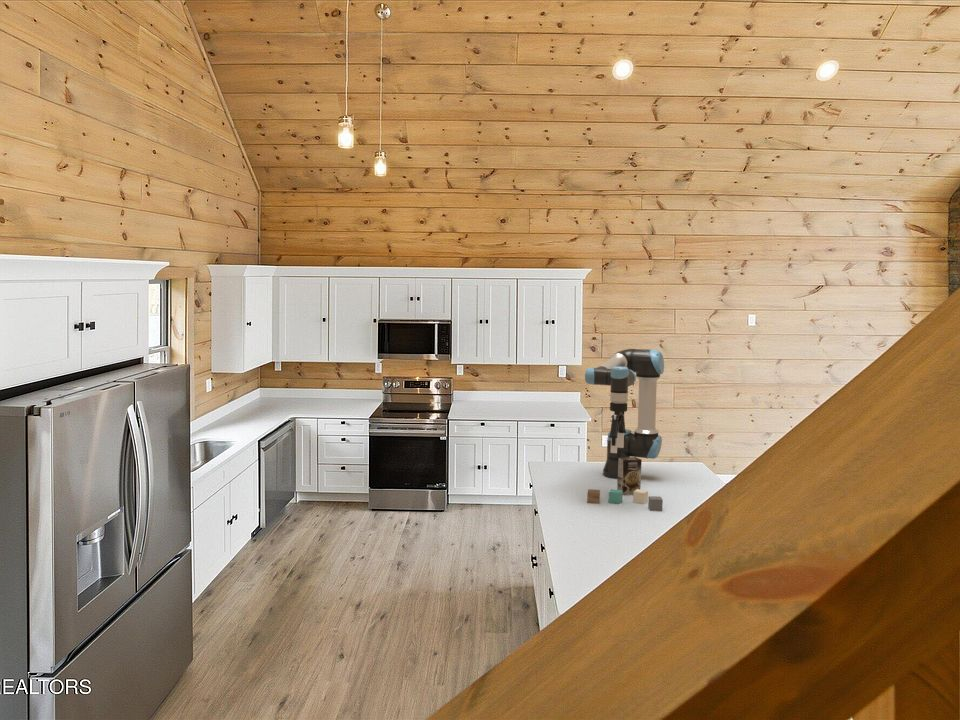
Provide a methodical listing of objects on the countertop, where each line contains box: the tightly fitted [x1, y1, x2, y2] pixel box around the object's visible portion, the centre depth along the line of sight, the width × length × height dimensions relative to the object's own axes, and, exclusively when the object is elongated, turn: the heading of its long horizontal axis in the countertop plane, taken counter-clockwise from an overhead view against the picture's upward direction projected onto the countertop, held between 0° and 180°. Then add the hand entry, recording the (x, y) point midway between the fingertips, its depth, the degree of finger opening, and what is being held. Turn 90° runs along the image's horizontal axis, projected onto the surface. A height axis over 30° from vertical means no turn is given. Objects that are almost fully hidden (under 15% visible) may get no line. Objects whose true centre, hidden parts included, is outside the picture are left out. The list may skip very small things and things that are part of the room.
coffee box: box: [616, 456, 643, 495], centre depth 357 cm, size 9×6×16 cm
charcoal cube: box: [647, 495, 664, 512], centre depth 330 cm, size 5×5×5 cm
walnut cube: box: [586, 488, 601, 505], centre depth 340 cm, size 5×5×5 cm
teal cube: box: [608, 488, 624, 505], centre depth 340 cm, size 5×5×5 cm
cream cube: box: [632, 488, 649, 505], centre depth 341 cm, size 5×5×5 cm
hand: (617, 450), depth 339 cm, fingers open, 13 cm apart
